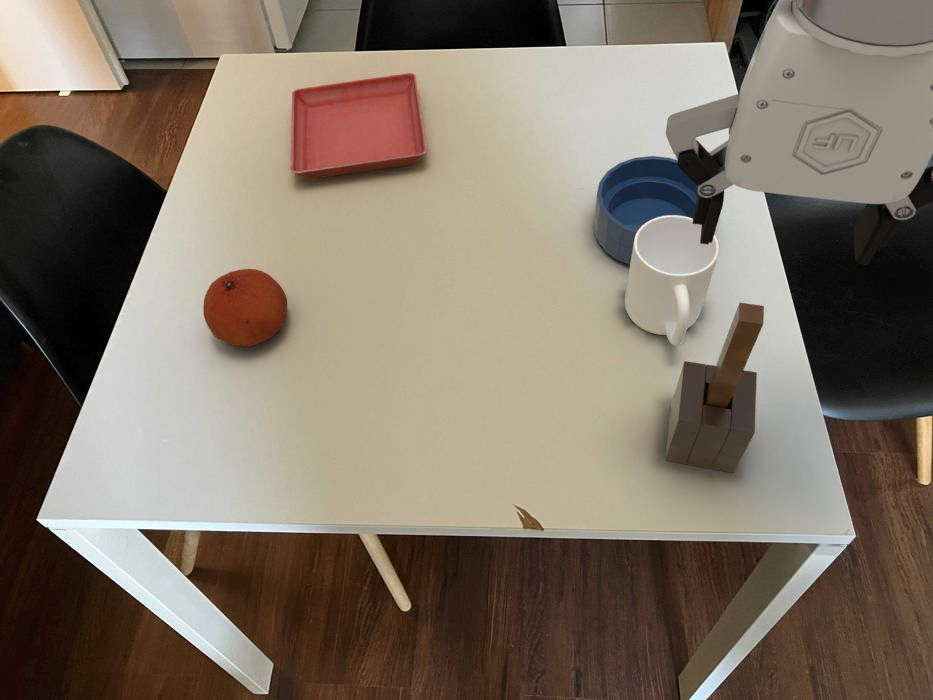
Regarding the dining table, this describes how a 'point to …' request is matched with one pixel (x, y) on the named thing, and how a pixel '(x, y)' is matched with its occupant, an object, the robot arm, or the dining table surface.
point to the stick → (734, 354)
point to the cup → (669, 276)
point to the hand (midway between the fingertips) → (781, 238)
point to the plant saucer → (356, 126)
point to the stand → (710, 421)
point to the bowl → (639, 200)
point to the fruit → (244, 307)
